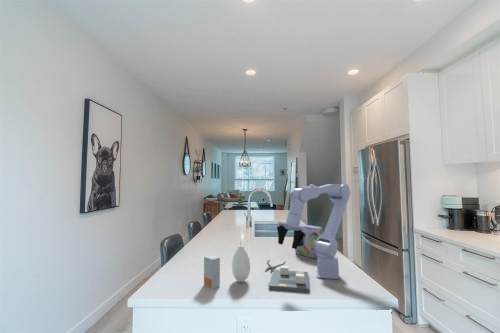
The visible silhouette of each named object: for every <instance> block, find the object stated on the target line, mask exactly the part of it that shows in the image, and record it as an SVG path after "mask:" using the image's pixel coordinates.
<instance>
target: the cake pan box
mask: <svg viewBox="0 0 500 333" xmlns="http://www.w3.org/2000/svg"><path fill="white" fill-rule="evenodd" d="M299 226H300V227H304V228H307V233H304V234H306V235H305V237H304V238H303V239H302V240H301V241H300V243H299V244H298V246H297V248H296V249H294V252H295V254H296V255H300V256H305V257H308V258H312V259H315V260H317V255H316V252H315V251H314V249H313V245H314V242H315V241H316V240H317V238H318V236H320V235H322V234H323V227H322V226H316V225H315V226H314V225H309V224H301V223H300V225H299ZM293 229H295V228H293ZM293 239H294V236H293Z"/></svg>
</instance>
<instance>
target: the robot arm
mask: <svg viewBox="0 0 500 333" xmlns="http://www.w3.org/2000/svg"><path fill="white" fill-rule="evenodd" d="M289 194H290V206H289V210H288V214H287V217H286V220H285V222H283V221H278V222H277V227H276V229H277V234H278V235H277V239H278V240H277V243H278V244H279V245H283V244H284V241H285V237H286V236H287V232H289V230H293V237H294V238H293V240H292V243H291V244H292V245H291V249H294V250H295V249H296V248H297V246H298V244H299V243H300V241H301V240H302V239H303V238H304V237H305V235H306V234H304V233H307V228H304V227H300V226H299V225H300V224H301V220H302V216H303V212H304V207H305V204H306V203H307V202H308V201H309V200H312V199H317V198H318V197H319V196H320V195H322V194H327V196H328V197H329V199H330V201H331V202H332V203H333V207H332V210H331V213H330V215H329V219H328V221H327V222H326V225H325V228H324V231H323V232H322V235H320V236H318V238H317V240H316V241H315V242H314V245H313V249H314V251H315V252H316V255H317V259H316V260H317V261H316V262H317V263H316V271H315V273H316V278H317V279H319V278H320V279H329V280H331V279H333V280H339V279H340V275H339V273H340V269H339V268H340V267H339V257H338V256H336V255H337V253H338V245H339V243H338V241H337V239H336V236H337V233H338V230H339V227H340V225H341V223H342V222H341V221H342V220H343V216H344V213H345V210H346V208H347V205H348V204H347V203H349V202H348V201H349V198H350V196H351V190H350V187H349V184H347V183H346V184H345V183H343V184H341V183H340V184H337V183H334V184H333V183H328V184H324V185H320V186H317V185H314V184H309V185H307V186H302V187H301V188H297V187H296V188H294V189H293V190H292V191H291V192H290V193H289ZM294 228H295V229H294Z"/></svg>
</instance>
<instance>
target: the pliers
mask: <svg viewBox="0 0 500 333" xmlns="http://www.w3.org/2000/svg"><path fill="white" fill-rule="evenodd" d="M270 261H271V259H269V260H267V262H266V263H267V265H268V266H267V267H266V268H265V270H264V272H265V273H267V272H268V271H269V270H270V274H271V273H272V274H273V270H276V268H278V267H281V266H284V265H285V264H286V261H285V260H284V261H283V263H281V264H277V265H274V266H272V265H271V264H270V263H269V262H270Z"/></svg>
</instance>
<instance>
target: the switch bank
mask: <svg viewBox="0 0 500 333" xmlns="http://www.w3.org/2000/svg"><path fill="white" fill-rule="evenodd" d="M296 273H298V274H304V282H305V284H297V283H296ZM268 290H270V291H271V290H272V291H285V292H286V291H287V292H299V293H310V282H309V272H308V271H297V270H289V273H288V275H281V274H280V269H274V270H273V272H272V274H271V277H270V280H269V283H268Z"/></svg>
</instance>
